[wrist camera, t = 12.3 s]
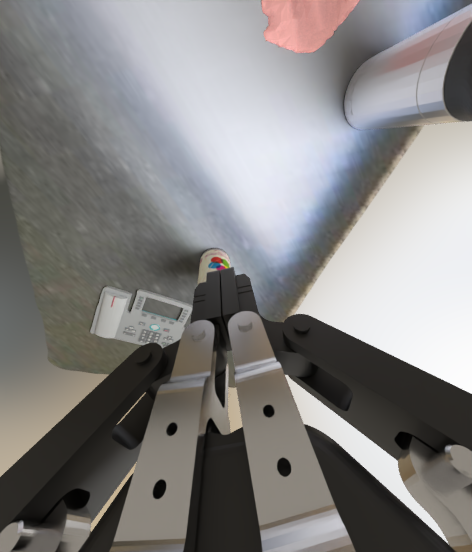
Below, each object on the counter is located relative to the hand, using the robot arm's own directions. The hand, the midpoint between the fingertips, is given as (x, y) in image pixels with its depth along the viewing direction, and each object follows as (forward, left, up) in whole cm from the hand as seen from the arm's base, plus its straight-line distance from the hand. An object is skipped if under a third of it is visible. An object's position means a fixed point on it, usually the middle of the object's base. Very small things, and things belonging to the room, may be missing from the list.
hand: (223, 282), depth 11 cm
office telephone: (+27, +29, -33) cm, 51 cm away
